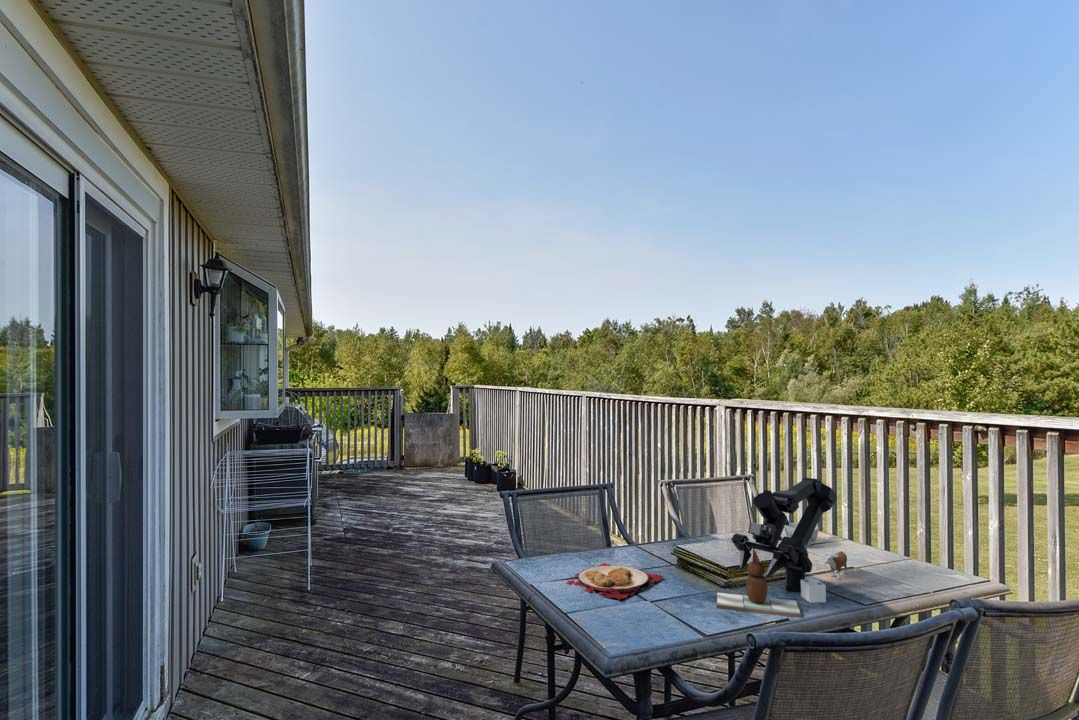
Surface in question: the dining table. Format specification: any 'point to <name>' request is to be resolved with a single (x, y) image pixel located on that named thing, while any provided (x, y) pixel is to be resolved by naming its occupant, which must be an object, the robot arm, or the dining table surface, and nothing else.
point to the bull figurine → (836, 562)
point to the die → (813, 590)
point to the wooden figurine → (756, 581)
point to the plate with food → (614, 580)
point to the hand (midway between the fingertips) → (753, 572)
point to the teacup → (791, 528)
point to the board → (758, 605)
